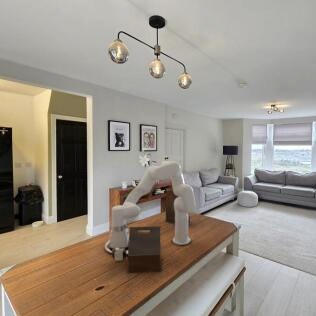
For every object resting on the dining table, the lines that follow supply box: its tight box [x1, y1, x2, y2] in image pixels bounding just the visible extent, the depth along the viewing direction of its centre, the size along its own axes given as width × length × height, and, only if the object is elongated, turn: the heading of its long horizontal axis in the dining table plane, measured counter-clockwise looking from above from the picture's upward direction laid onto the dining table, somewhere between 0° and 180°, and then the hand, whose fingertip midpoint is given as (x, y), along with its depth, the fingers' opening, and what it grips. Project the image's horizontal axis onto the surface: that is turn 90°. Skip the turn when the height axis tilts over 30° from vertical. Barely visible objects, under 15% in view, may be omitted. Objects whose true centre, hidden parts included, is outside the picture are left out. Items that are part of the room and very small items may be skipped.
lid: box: [127, 225, 162, 256], centre depth 103 cm, size 14×17×5 cm
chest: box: [127, 242, 162, 273], centre depth 110 cm, size 13×17×9 cm
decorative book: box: [165, 188, 191, 226], centre depth 174 cm, size 23×7×30 cm, turn 56°
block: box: [114, 249, 124, 262], centre depth 113 cm, size 4×4×4 cm
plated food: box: [104, 232, 129, 255], centre depth 132 cm, size 30×30×3 cm
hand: (119, 257), depth 113 cm, fingers closed on block, 4 cm apart
